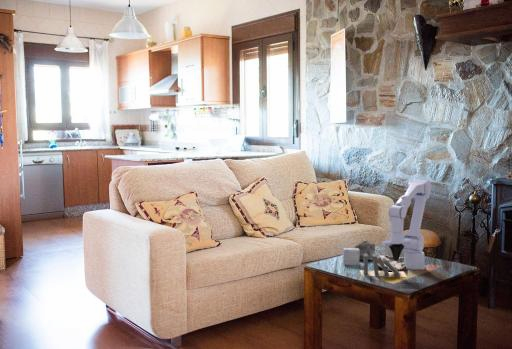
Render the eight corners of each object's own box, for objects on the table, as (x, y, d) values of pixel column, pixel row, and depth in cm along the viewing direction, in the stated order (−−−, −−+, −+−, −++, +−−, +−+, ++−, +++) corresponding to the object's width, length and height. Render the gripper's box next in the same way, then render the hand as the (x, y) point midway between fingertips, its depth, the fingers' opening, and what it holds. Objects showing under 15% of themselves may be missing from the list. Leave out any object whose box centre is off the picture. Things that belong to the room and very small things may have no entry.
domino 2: (387, 271, 247) (378, 254, 247) (389, 274, 242) (380, 257, 242) (384, 273, 247) (375, 256, 247) (386, 276, 242) (377, 258, 242)
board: (403, 273, 250) (403, 271, 250) (407, 279, 241) (407, 277, 241) (359, 272, 252) (359, 270, 252) (361, 277, 243) (361, 275, 243)
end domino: (366, 272, 248) (367, 253, 247) (367, 275, 243) (368, 256, 242) (363, 272, 248) (363, 253, 247) (364, 275, 243) (364, 256, 243)
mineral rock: (347, 260, 274) (348, 241, 273) (353, 255, 284) (353, 237, 283) (372, 263, 269) (372, 243, 268) (377, 258, 278) (377, 239, 277)
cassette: (408, 258, 278) (408, 244, 277) (407, 259, 276) (407, 245, 275) (385, 256, 283) (385, 242, 282) (384, 256, 281) (384, 242, 280)
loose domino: (398, 270, 246) (384, 257, 247) (399, 273, 242) (385, 260, 242) (395, 273, 247) (381, 259, 247) (397, 276, 242) (383, 262, 242)
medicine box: (358, 265, 265) (358, 248, 264) (359, 267, 261) (359, 250, 260) (342, 264, 266) (342, 247, 265) (343, 267, 262) (343, 249, 261)
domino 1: (377, 272, 248) (375, 253, 247) (378, 275, 243) (376, 256, 242) (373, 272, 248) (372, 254, 247) (375, 275, 243) (373, 256, 242)
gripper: (405, 228, 248) (404, 256, 250) (378, 230, 244) (377, 259, 245) (414, 231, 242) (413, 260, 243) (386, 233, 237) (386, 263, 238)
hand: (396, 260), depth 244 cm, fingers closed
